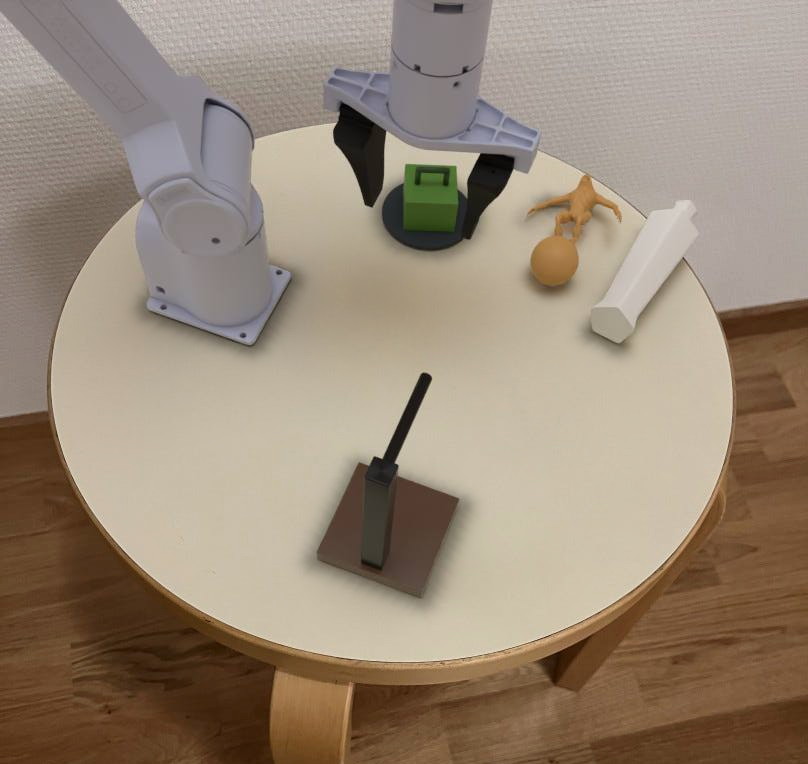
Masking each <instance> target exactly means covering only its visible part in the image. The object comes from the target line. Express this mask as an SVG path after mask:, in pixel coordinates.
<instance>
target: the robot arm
mask: <svg viewBox="0 0 808 764" xmlns="http://www.w3.org/2000/svg"><path fill="white" fill-rule="evenodd" d="M392 4H393V5H392V22H391V41H390V63H389V64H390V65H389V72H382V71H366V70H365V71H364V70H356V69H350V68H344V67H341V66H338V65H334V66H333V67H332V69H331V71H330V72H329V74H328V76H327V77H326V79H325V80H324V82H323V85H322V86H323V88H322V89H323V90H322V91H323V109H324V110H328V111H330V112H333V113H339V115H338V117H337V118H338V119H337V122H336V123H335V124H334V125H335V126H334V127H333V129H332V138H333V143H334V145H335V146H336V147H337V148H338V150H339V151H341V153H342V154H343V156H344V157H345V158H346V160H347V162H348V163H349V165H350V167H351V169H352V171H353V173H354V176H355V178H356V181H357V184H358V187H359V190H360V193H361V197H362V200H363V205H364V206H365V207H369V208H372V209H373V207H374V206H375V204H376V202H377V200H378V199H379V196H380V195H381V193H382V191H383V189H384V188H383V187H384V180H385V149H386V138H387V133H389V134H391V136H393V137H395V138H396V139H398V140H399V141H400V142H402V143H404V144H406V145H408V146H410V147H413V148H416V149H418V150H423V151H424V150H425V151H434V152H435V151H437V152H452V153H453V152H454V153H468V154H469V153H470V154H479V155H478V157H477V159H476V160H475V163H474V165H473V166H472V169H471V170H470V173H469V175H468V177H467V180H466V189H467V194H466V195H467V197H466V198H467V209H466V214H465V218H464V222H463V226H462V231H461V237H462V238H464V239H465V240H468V241H470V240H471V239H472V237H473V235H474V234H475V231H476V228H477V226H478V224H479V222H480V218H481V217H482V215H483V214H484V212H485V210H486V209H487V208H488V207H489V206H490V205H491V204H492V203H493V202H494V201H495V200H496V199H498V198H499V196H500V195H501V194H502V193H503V192H504V190H505V188H506V187H507V185H508V183H509V181H510V178H511V176H512V174H513V172H514V171H516V172H520V173H523V174H526V175H528V174H529V173H530V170H531V168H532V166H533V164H534V162H535V159H536V158H537V155H538V150H539V146H540V141H541V138H542V133H543V132H542V130H540V129H537V128H534V127H531V126H529V125H526V124H525V123H523V122H522V121H519V120H518V119H515V118H514V117H513V116H511V115H510V114H508V113H506V112H505V111H504V110H501V108H498V107H497V106H495V105H493V104H492V103H491V102H489V101H488V100H486V99H484V98H483V97H481V96H480V95H479V92H480V86H481V80H482V74H483V66H484V60H485V53H486V48H487V42H488V36H489V28H490V22H491V15H492V9H493V4H494V0H393V2H392ZM0 13H1V14H2V15H3V17H5V18H6V20H7V21H8V22H9V23H10V24H11V25H12V26H13V27H14V28H15V30H17V31H18V32H19V33H20V34H21V36H22V37H23V38H24V39H25V40H26V41H27V42H28V43H29V44H30V46H32V47H33V48H34V49H35V50H36V51H37V53H38V54H39V55H40V56H41V57H42V58H43V59H44V60H45V61H46V62H47V63H48V64H49V65H50V66H51V67H52V69H53V70H55V72H56V73H58V75H59V76H60V77H61V78H62V79H63V80H64V81H65V82H66V84H68V86H69V87H70V88H71V89H72V90H74V92H75V93H76V94H77V95H78V96H79V97H80V98H81V99H82V100H83V101H84V102H85V103H86V104H87V106H88V107H90V108H91V110H92V111H93V112H94V113H95V114H96V115H97V116H98V117H99V118H100V119H101V120H102V121H103V123H104V124H106V126H107V127H108V128H109V129H110V130H111V132H113V133H114V134H115V135H116V136H117V138H118V139H120V142H121V144H122V146H123V150H124V153H125V156H126V160H127V162H128V163H127V164H128V166H129V169H130V172H131V176H132V179H133V183H134V186H135V189H136V191H137V194H138V196H139V197H140V198H141V199H142V200H143V202H142V203H141V206H140V209H139V211H138V215H137V218H136V223H135V231H134V232H135V233H134V237H135V239H134V241H135V242H134V243H135V248H136V252H137V256H138V259H139V262H140V265H141V269H142V272H143V275H144V279H145V283H146V286H147V289H148V293H149V295H150V296H149V298H148V300H147V301H146V309H148V311H150V312H153V313H156V314H158V315H162V316H163V317H167V318H170V319H173V320H176V321H179V322H181V323H184V324H187V325H190V326H192V327H195V328H198V329H201V330H204V331H206V332H210V333H213V334H216V335H218V336H221V337H224V338H226V339H229V340H233V341H235V342H238V343H241V344H243V345H246V346H251V345H254V344H255V343H256V341H257V339H258V338H259V335H260V334H261V332H262V330H263V328H264V327H265V325H266V323H267V322H268V320H269V319H270V316H271V315H272V313H273V311H274V309H275V308H276V306H277V304H278V302H279V300H280V298H281V297H282V295H283V294H284V291H285V289H286V288H287V286H288V284H289V282H290V281H291V278H292V274H291V272H290V271H289V270H287V269H284V268H281V267H278V266H275V265H273V264H270V259H269V250H268V242H267V241H268V240H267V232H266V223H265V222H266V221H265V214H264V213H265V212H264V205H263V201H262V199H261V196H260V195H259V193H258V191H257V190H256V188H255V187H254V185H253V183H252V166H253V164H252V163H253V151H254V149H255V141H256V133H255V129H254V126H253V124H252V121H251V120H250V118H249V117H248V115H247V114H246V113H245V112H244V111H243V110H242V108H240V107H239V106H238V105H236V104H235V103H233V102H231V101H229V100H228V99H226V98H224V97H222V96H220V94H217V93H216V92H215V91H214V90H213V89H212V88H211V87H210V86H209V85H208V84H207V82H206V81H205V80H204V78H203V77H202V76H201V75H199V74H195V73H194V74H193V73H192V74H191V73H190V74H183V75H178V74H177V72H176V71H175V70H174V69H173V68H172V66H171V65H170V64H169V63H168V62H167V60H166V59H165V58H164V56H163V55H162V54H161V52H160V51H159V50H158V49H157V47H156V46H155V45H154V44H153V43H152V41H151V40H150V39H149V38H148V37H147V35H146V34H145V33H144V32H143V31H142V29H141V28H140V27H139V26H138V24H137V23H136V22H135V20H134V19H133V18H132V17H131V15H130V14H129V13H128V12H127V10H126V9H125V8H124V7H123V5H122V4H121V3H120V2H119V0H0Z"/></svg>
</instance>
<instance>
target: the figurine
mask: <svg viewBox="0 0 808 764" xmlns="http://www.w3.org/2000/svg"><path fill="white" fill-rule="evenodd" d="M564 203H569V211H568V210H567V209H562V210H561V211H560V213H557V214H556V215H555V219H554V220H555V226H554V229H553V233H554V235H551V236H547V237H545V238H543V239H541V240H540V241H539V242H538V243H537V244H536V245H535V246H534V248H533V250H532V252H531V254H530V255H531V256H530V261H529V263H530V264H529V265H530V269H531V272H532V274H533V276H534V277H535V278H536V280H537V281H538V282H539V283H542V284H544V285H547V286H552V287H556V286H561V285H564V284H565V283H567V282H568V281H570V280H571V279H572V278H573V276H575V274H576V272H577V270H578V267H579V263H580V262H579V261H580V260H579V259H580V257H579V252H578V250H577V248H576V245H575V244H576V243H577V241H578V239H580V236H581V235H582V230H581V227H583V226H585V225H586V224H587V223H589V222H590V221H591V218H592V212H591V210H592V209H594V207H595V206H597V205H600V206H603V207H605V208H608V209H610V210H612V211H613V213H614V216H616V220H617V222H618V223H619V224H621V223H622V219H623V216H622V213H621V211H620V209H619V206H618V205H617V204H616V203H615V202H614V201H612V200H611V199H610V200H609V199H608V198H605V197H604V196H602V195H601V194H599V193H598V192H597V191H596V190H595V188H594V185H593V180H592V178H591V175H589V174H586V173H585V174H584V175H582V177H581V178H580V180H579V183H578V185H577V187H576V188H575V189H573V190H572V191H570V192H568V193H565V194H563V195H560V196H556V197H553V198H549V199H548V200H545V201H544V202H542V203H538V204H536V205H535V206H533V207H531V209H529V210H528V212H527V213H526V218H527V217H528V216H529V215H530V214H532V213H533V212H536V211H539V210H543V209H545V208H547V207H549V206H553V205H560V204H564ZM569 222H573V223H575V226H574V228H573V229H572V235H571V236H572V238H571V239H569V238H566V237H564V236H562V235H563V228H562V226H561V225H565V224H568V223H569Z"/></svg>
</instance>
